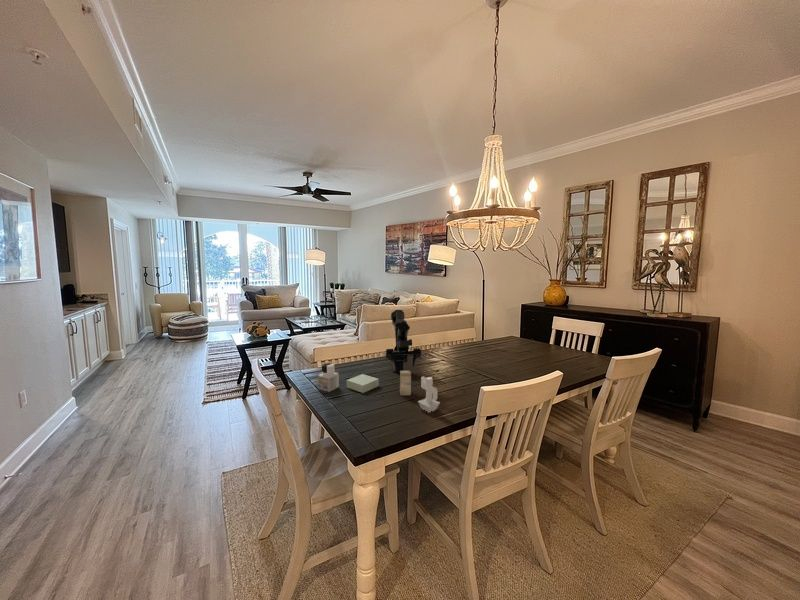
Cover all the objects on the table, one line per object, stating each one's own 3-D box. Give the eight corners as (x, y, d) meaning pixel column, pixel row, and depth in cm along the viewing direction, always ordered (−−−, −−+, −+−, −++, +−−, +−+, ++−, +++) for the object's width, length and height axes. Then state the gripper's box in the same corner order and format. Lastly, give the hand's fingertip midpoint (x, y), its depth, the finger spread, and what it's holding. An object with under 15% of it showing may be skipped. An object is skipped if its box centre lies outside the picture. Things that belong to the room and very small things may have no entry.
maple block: (400, 391, 172) (400, 370, 170) (409, 391, 172) (409, 370, 171) (400, 395, 167) (401, 374, 165) (410, 394, 167) (411, 373, 166)
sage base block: (362, 380, 186) (362, 374, 185) (378, 386, 179) (378, 378, 178) (346, 387, 176) (346, 380, 176) (363, 393, 169) (363, 385, 169)
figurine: (430, 415, 145) (430, 382, 143) (415, 408, 153) (416, 376, 151) (441, 411, 150) (442, 379, 148) (427, 404, 157) (428, 373, 155)
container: (318, 389, 174) (317, 365, 172) (327, 384, 181) (327, 361, 179) (329, 392, 170) (329, 367, 169) (339, 387, 177) (338, 363, 175)
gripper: (386, 334, 176) (387, 360, 166) (421, 333, 177) (424, 359, 168) (385, 344, 184) (386, 370, 175) (418, 344, 186) (421, 369, 177)
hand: (404, 367), depth 173 cm, fingers open, 9 cm apart
